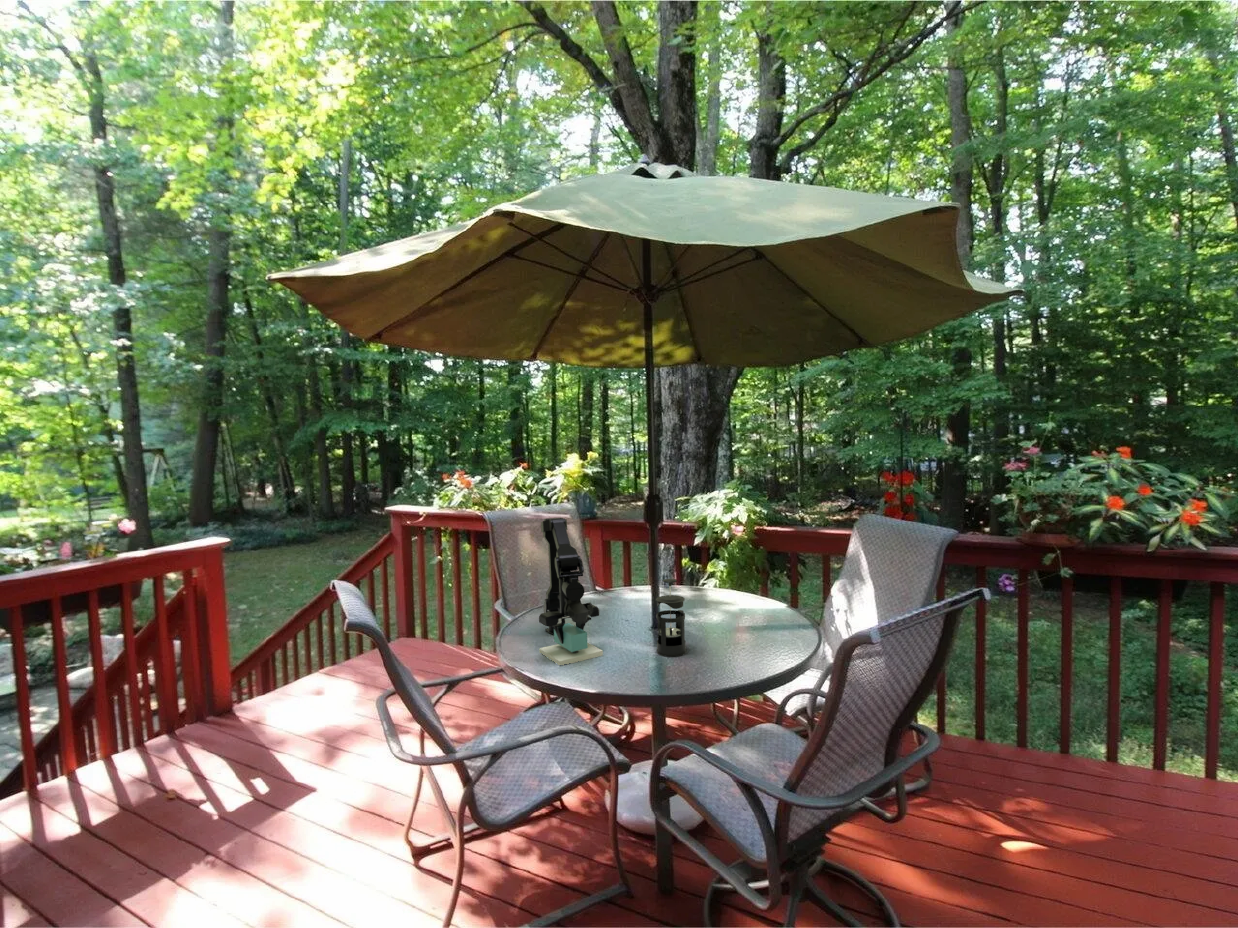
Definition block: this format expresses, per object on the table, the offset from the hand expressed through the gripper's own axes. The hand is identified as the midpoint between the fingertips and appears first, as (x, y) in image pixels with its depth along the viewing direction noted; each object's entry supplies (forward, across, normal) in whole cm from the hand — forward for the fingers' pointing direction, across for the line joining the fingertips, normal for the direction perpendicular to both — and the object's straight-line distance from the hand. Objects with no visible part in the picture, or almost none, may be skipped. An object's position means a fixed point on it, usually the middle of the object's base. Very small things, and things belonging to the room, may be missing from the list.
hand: (570, 641), depth 208 cm
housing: (+1, 0, 0) cm, 1 cm away
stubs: (+2, 0, 0) cm, 2 cm away
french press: (+4, +27, -17) cm, 32 cm away
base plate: (+4, 0, 0) cm, 4 cm away
